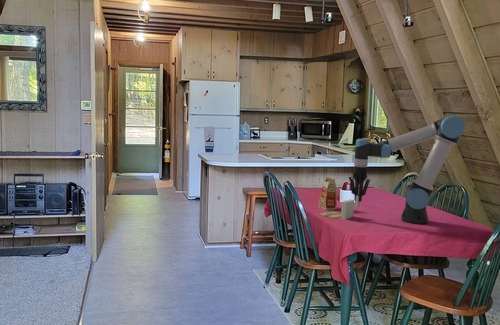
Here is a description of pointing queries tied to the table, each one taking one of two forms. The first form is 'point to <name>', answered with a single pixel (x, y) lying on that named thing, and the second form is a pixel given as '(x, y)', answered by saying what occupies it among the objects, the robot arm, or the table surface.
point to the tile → (347, 209)
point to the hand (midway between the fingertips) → (357, 206)
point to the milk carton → (328, 195)
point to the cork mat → (331, 214)
